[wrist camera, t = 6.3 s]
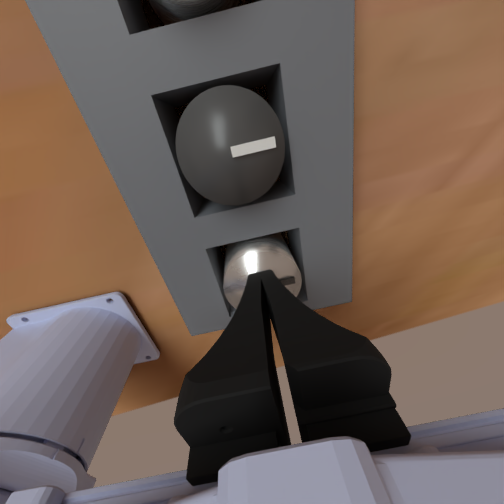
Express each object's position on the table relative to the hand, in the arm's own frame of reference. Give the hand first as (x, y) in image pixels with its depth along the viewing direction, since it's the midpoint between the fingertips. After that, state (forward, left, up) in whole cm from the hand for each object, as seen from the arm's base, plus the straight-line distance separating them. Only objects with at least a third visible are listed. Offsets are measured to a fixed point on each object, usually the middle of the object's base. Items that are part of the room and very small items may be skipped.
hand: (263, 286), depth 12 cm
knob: (0, 0, -4) cm, 4 cm away
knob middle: (0, +7, -4) cm, 8 cm away
